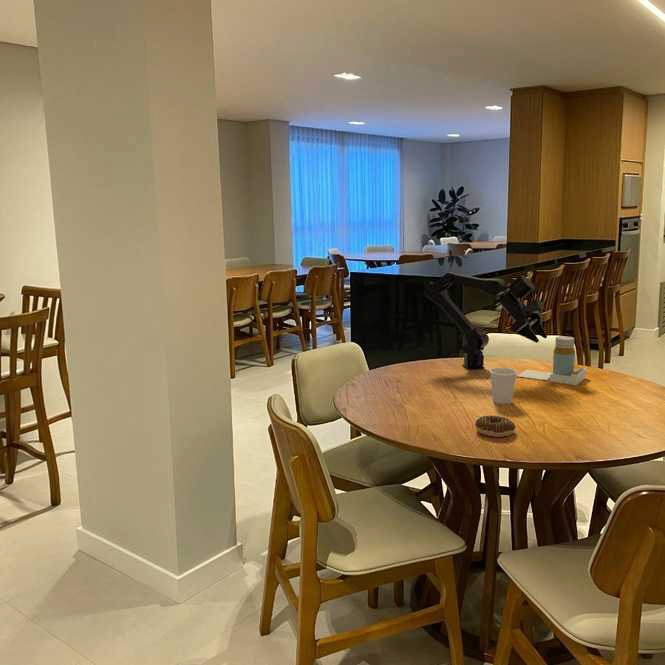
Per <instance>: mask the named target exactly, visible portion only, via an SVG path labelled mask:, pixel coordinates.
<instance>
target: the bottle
mask: <svg viewBox="0 0 665 665" xmlns="http://www.w3.org/2000/svg"><path fill="white" fill-rule="evenodd" d="M554 346H555V347H554V349H553V355H552V356H553V357H552V358H553V360H552V362H553V363H552V373H553V374H556V375H564V376H571V374H573V373H574V370H575V360H576V359H575V357H576V350H575V338H574V337H572V336H565V335H561V336H559V335H558V336H556V337H555V345H554Z"/></svg>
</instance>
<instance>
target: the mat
mask: <svg viewBox="0 0 665 665" xmlns="http://www.w3.org/2000/svg"><path fill="white" fill-rule="evenodd" d="M550 374H553V372H547V371H539V370H533V369H526V370H523V371H521V372H520V373H519V374H518V373H517V374H516V378H520V377H524V378H523V379H528V378H531V379H530V380H535V379H539V380H538V381H542V380H546V381H545V382H547V381H549V380H550ZM548 379H549V380H548Z"/></svg>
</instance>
